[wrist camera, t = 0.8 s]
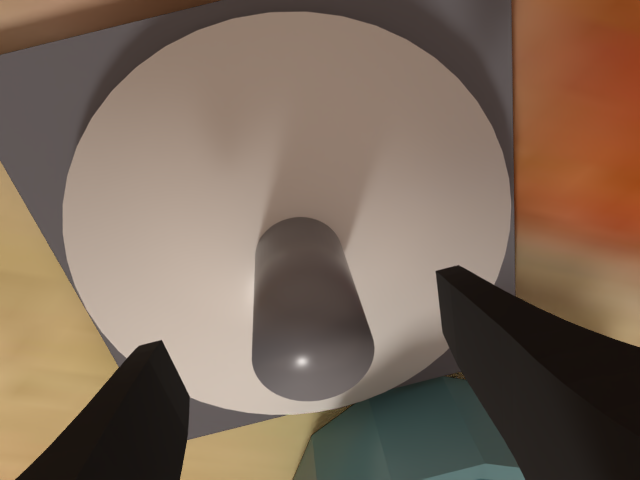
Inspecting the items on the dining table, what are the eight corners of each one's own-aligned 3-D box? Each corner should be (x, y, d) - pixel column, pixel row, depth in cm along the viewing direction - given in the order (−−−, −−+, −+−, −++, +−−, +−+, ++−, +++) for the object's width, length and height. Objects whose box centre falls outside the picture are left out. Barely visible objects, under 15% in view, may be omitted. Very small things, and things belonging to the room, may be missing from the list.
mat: (501, -68, 13) (510, -71, 12) (510, 350, 20) (515, 357, 20) (-42, 66, 13) (-53, 68, 12) (166, 436, 20) (164, 445, 20)
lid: (493, -46, 13) (653, -89, 7) (504, 351, 19) (591, 472, 14) (-25, 82, 12) (-228, 129, 7) (171, 434, 19) (138, 586, 14)
